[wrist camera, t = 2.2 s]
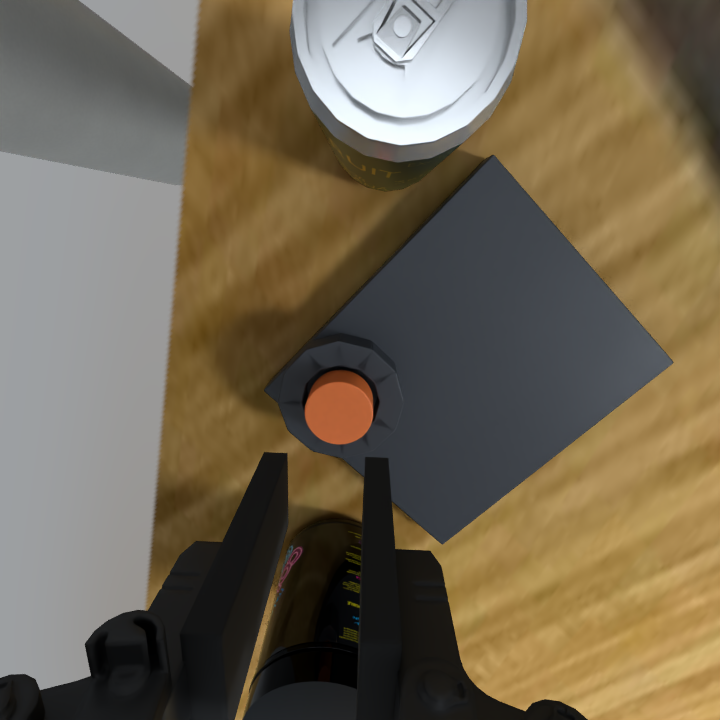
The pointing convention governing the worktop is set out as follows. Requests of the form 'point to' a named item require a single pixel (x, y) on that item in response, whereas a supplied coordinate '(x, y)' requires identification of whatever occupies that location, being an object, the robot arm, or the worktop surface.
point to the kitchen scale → (474, 354)
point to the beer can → (403, 77)
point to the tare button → (339, 407)
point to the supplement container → (312, 630)
